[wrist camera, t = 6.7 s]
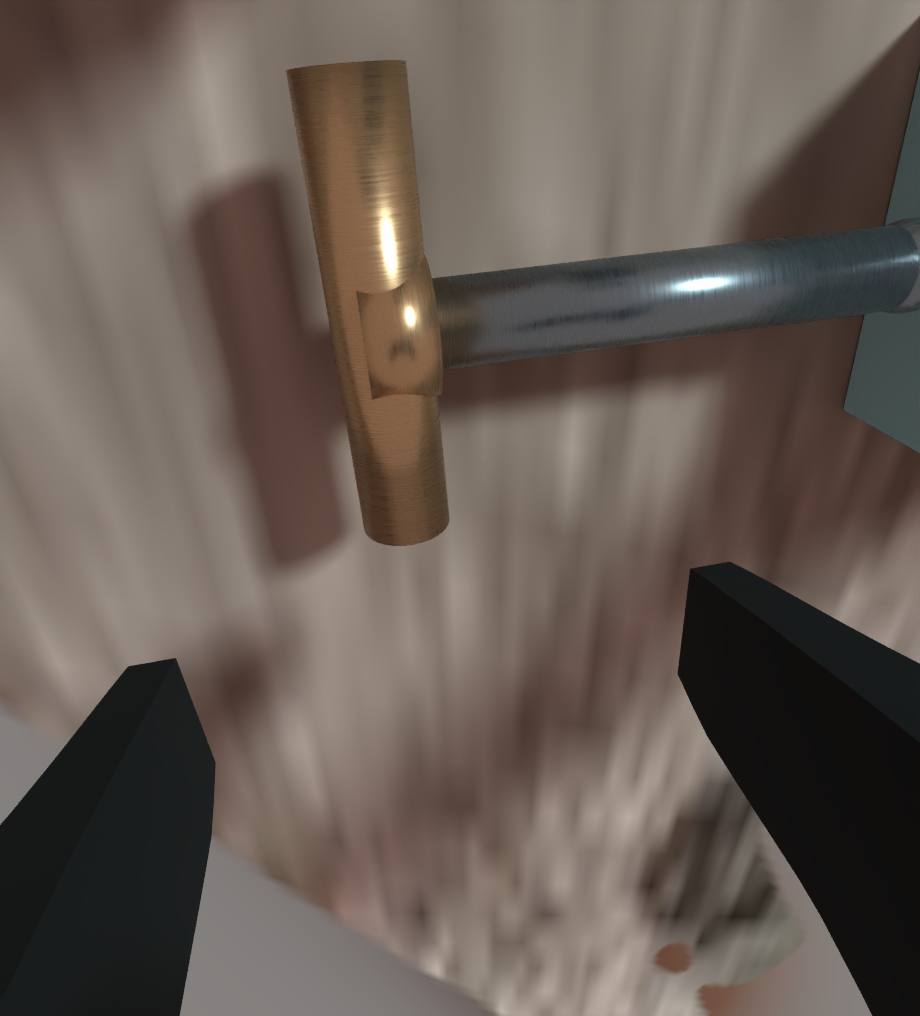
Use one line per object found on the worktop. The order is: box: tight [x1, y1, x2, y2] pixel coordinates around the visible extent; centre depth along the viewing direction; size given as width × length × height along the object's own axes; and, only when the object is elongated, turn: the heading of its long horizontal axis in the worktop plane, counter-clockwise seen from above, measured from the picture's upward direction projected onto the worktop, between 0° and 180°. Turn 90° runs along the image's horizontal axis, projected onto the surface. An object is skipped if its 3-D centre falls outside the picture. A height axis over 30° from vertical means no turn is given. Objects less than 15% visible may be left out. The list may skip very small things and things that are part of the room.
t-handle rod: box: [286, 60, 920, 546], centre depth 15 cm, size 14×9×3 cm, turn 95°
